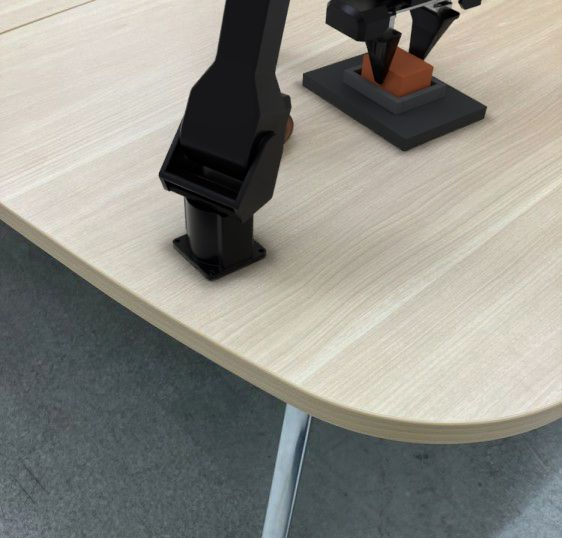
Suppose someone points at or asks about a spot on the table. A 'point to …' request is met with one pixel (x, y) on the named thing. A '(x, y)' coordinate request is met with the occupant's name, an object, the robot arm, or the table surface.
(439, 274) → the table surface
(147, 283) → the table surface
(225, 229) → the robot arm
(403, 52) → the reddish brown rectangular block
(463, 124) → the black base pad
